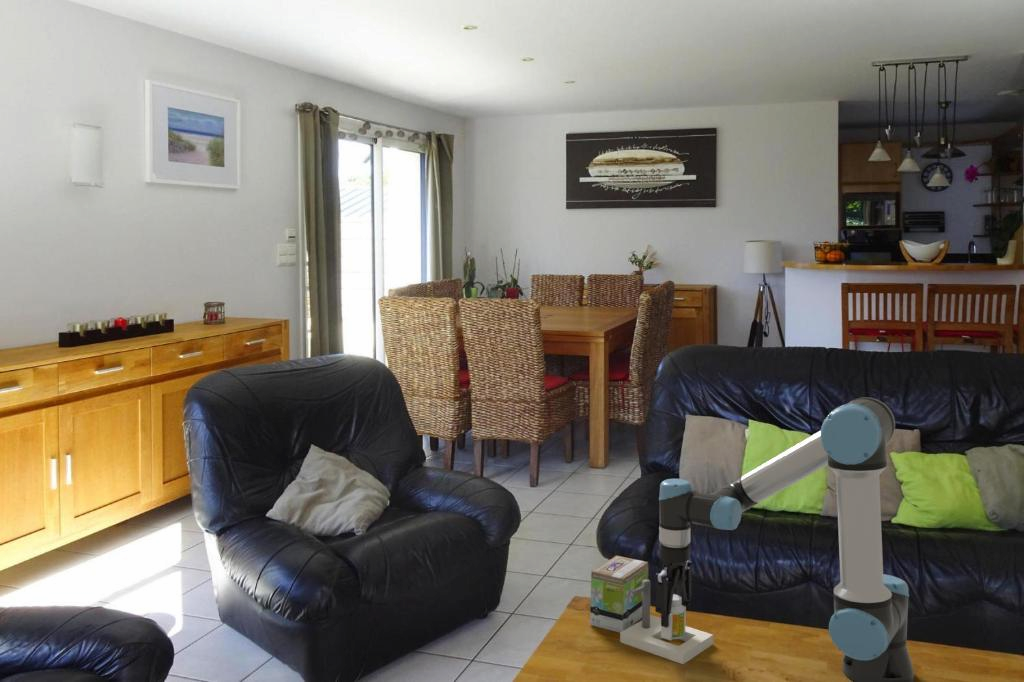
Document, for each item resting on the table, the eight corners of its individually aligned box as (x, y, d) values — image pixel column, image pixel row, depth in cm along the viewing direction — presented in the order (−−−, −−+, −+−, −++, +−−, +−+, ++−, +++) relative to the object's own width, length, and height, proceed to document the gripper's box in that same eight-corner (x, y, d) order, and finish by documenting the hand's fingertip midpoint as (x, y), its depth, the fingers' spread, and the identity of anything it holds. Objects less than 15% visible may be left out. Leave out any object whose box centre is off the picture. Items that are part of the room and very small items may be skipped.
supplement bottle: (681, 641, 214) (682, 602, 213) (659, 637, 216) (660, 599, 215) (686, 632, 219) (686, 594, 218) (664, 629, 221) (664, 591, 220)
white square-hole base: (712, 644, 218) (713, 587, 217) (683, 664, 208) (683, 605, 206) (651, 624, 230) (651, 570, 229) (620, 642, 220) (620, 586, 218)
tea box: (624, 634, 224) (624, 578, 223) (589, 625, 230) (589, 570, 228) (648, 613, 237) (649, 560, 235) (614, 606, 242) (615, 553, 241)
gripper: (681, 530, 224) (679, 618, 227) (640, 549, 211) (639, 642, 213) (707, 536, 219) (705, 626, 222) (667, 556, 206) (666, 651, 208)
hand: (673, 634), depth 217 cm, fingers closed on supplement bottle, 5 cm apart
